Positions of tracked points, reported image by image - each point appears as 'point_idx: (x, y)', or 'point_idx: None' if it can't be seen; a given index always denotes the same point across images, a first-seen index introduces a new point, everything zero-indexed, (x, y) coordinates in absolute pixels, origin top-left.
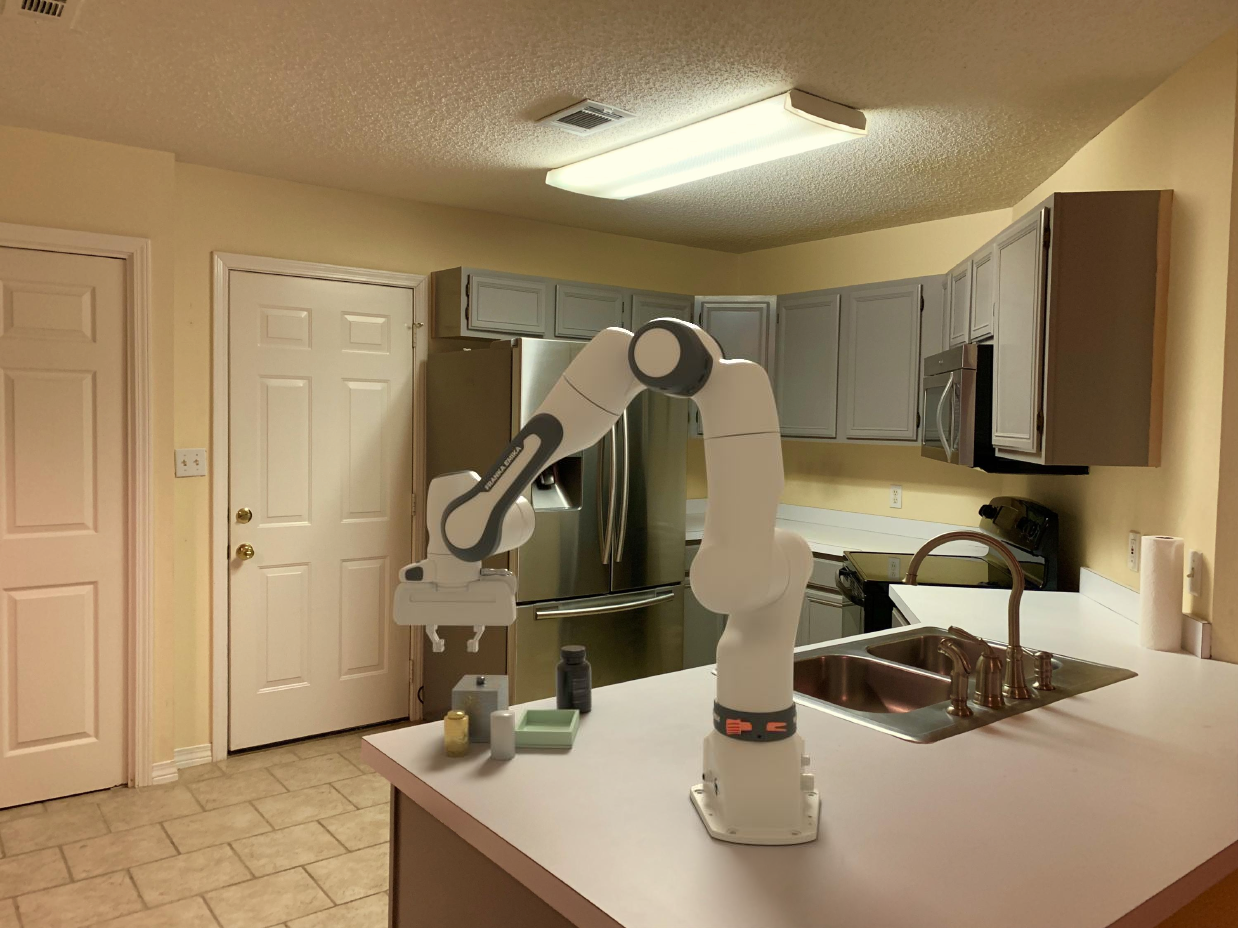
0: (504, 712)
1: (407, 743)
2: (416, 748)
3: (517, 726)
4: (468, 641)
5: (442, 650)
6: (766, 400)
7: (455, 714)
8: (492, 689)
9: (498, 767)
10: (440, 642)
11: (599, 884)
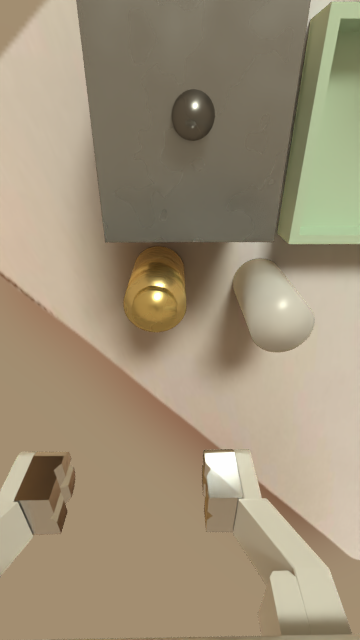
0: (286, 315)
1: (26, 220)
2: (63, 250)
3: (299, 208)
4: (210, 523)
5: (72, 471)
6: None
7: (156, 324)
8: (253, 221)
9: None
10: (57, 530)
11: (352, 537)
